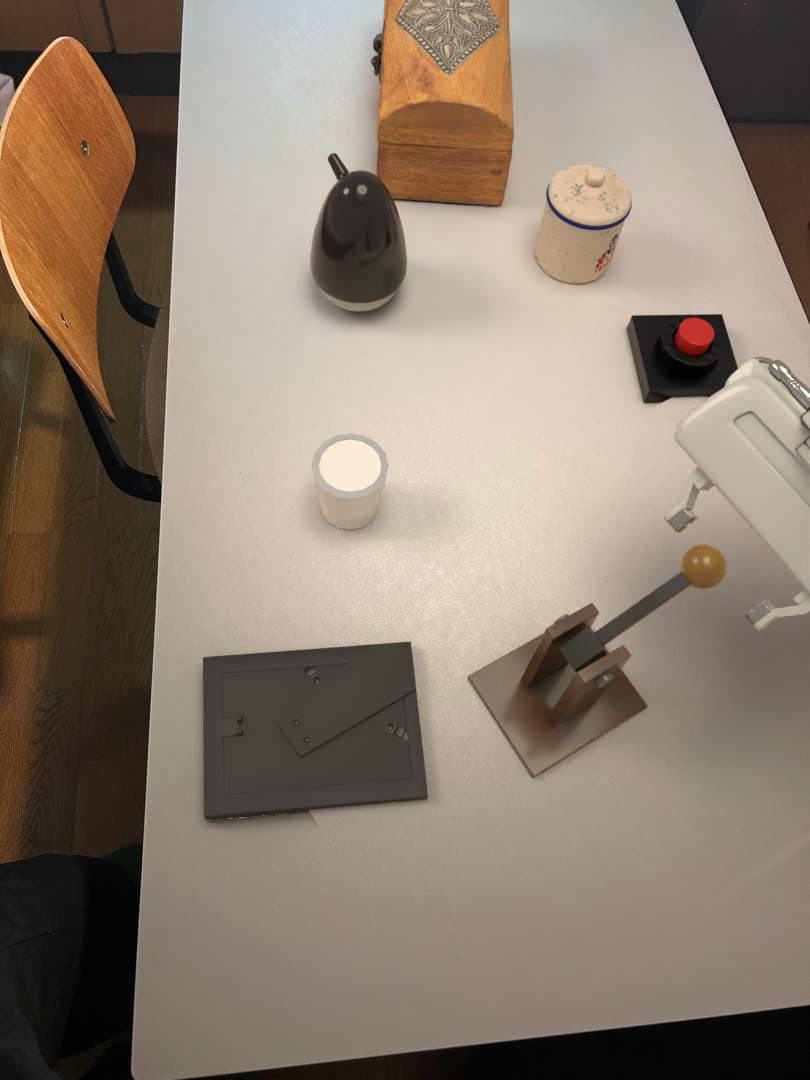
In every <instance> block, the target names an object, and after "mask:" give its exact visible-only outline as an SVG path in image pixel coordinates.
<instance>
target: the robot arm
mask: <svg viewBox="0 0 810 1080" xmlns="http://www.w3.org/2000/svg"><path fill="white" fill-rule="evenodd" d="M763 364H767V365H768V367H766V366H764V365H763ZM673 438H674V441H675V443H677V445H678V446H679V447H680V448H681V449H682V451H683V452H684V453H685V454H686V455H687V456H688V457H689V458H690V460H691V461H692V463H694V464H695V465H696V466H697V467H696V468H694V470H692V471H691V472H690V473H689V474H688V475H686V477H685V480H684V482H683V485H682V489H681V493H680V494H679V498H678V500H677V502H678V503H677V504H676V505H674V506H673V507H672V508H671V509H670V510H669V511H668V512H667V513H665V514H664V516H663V517H662V519H663V520H664V522H666V524H667V525H668V526H669V527H670V528H671V530H672V531H673V532H674V533H678V534H680V533H682V532H684V531H685V530H687V528H688V526H689V525H691V524H693V523H694V522H695V521H697V520H698V519H699V517H698V516H697V515H696V514H695V513H694V511H693V509H694V507H695V503H696V500H697V499H698V496H699V494H700V491H704V492H708V491H710V490H711V489H712V488H713V487H715V489H717V491H718V492H719V493H720V494H721V495H722V496H723V497H724V498H725V499H726V500H727V502H728V503H729V504H730V505H731V506H732V507H733V508H734V510H735V511H736V512H737V513H738V514H739V515H740V517H741V518H742V519H743V520H744V521H745V523H747V525H749V527H750V528H751V529H752V530H753V531H754V532H755V533H756V535H757V536H758V537H759V538H760V539H761V540H762V541H763V543H764V544H765V545H766V546H767V547H768V548H769V549H770V551H771V552H772V553H773V554H774V555H775V557H777V559H778V560H779V561H780V562H781V563H782V564H783V565H784V566H785V568H786V569H787V570H788V571H789V572H790V574H791V575H792V576H793V577H794V578H795V579H796V580H797V582H799V584H800V585H801V586H802V587H803V588H804V589H802V591H800V592H799V593H797V594H796V595H795V596H794V597H793V601H794V602H795V603H796V604H797V605H789V606H782V607H775V606H774V605H773V604H772V602H771V601H770V600H769V599H767V600H766V599H765V600H761V601H760V602H759V603H758V604H756V605H754V609H750V610H748V611H747V612H746V613H745V614H744V615H743V616H744V617H745V618H746V619H747V621H748V622H749V624H751V626H752V627H753V628H754V629H755V630H756V632H760V631H763V630H764V629H766V628H767V627H769V626H770V625H771V624H773V623H774V622H775V621H776V620H778V619H779V618H786V617H787V618H788V617H794V616H802V615H809V614H810V387H808V385H807V384H806V383H804V382H802V381H801V380H800V379H799V378H798V377H797V376H796V375H795V374H794V373H793V372H792V370H791V369H790V367H789V366H788V365H787V364H786V363H784V362H783V361H782V360H781V359H775V360H773V359H771V358H769V357H765V356H757V357H753V358H750V359H748V360H746V361H745V362H743V363H742V364H741V365H740V366H739V367H738V369H737V370H736V371H735V372H734V373H733V374H732V375H731V376H730V377H729V378H728V379H727V381H726V383H725V387H724V388H723V389H721V390H719V391H718V392H716V393H715V394H713V395H712V396H710V397H709V398H708V397H707V398H705V400H703V401H702V402H701V403H700V404H698V405H697V406H696V407H694V408H693V409H692V410H690V411H689V412H688V413H687V414H685V415H684V416H682V418H681V419H679V421H678V422H677V423H676V427H675V431H674V435H673Z"/></svg>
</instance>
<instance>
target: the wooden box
mask: <svg viewBox="0 0 810 1080" xmlns="http://www.w3.org/2000/svg"><path fill="white" fill-rule="evenodd" d="M382 18H383V19H382V30H381V32H378V33H377V34H376V35H375V37H374V38H373V41H372V49H373V50H374V52H376V55H374V56H372V58H371V60H370V64H371V66H372V67H373V73H374V74H373V75H374V76H375V77H377V76H378V83H379V84H380V85H379V95H378V107H377V122H376V123H377V124H376V138H377V147H376V149H377V150H376V176H378V177H379V178H380V179H381V180H382V181H383V183H384V184H385V185H386V187H387V188H388V190H389V191H390V193H391V195H392V197H393V199H394V200H395V199H398V200H414V201H428V202H442V203H454V204H468V205H486V206H501V205H502V204H503V201H504V197H505V194H506V191H507V186H508V179H509V172H510V167H511V162H512V158H513V157H512V156H513V143H514V137H515V127H514V126H515V125H514V104H513V83H512V65H511V62H512V61H511V34H510V33H511V31H510V30H511V29H510V0H383V17H382Z"/></svg>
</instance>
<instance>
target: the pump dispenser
mask: <svg viewBox="0 0 810 1080" xmlns="http://www.w3.org/2000/svg"><path fill="white" fill-rule="evenodd" d="M327 162H328V164H329V166H330V168H331V170H332V172H333V174H334V177H335V179H336V182H335V183H334V184H333V185H332V186H331V188H330V190H329V191H328V193H327V195H326V197H325V199H324V201H323V203H322V205H321V207H320V210H319V213H318V216H317V219H316V222H315V225H314V229H313V233H312V239H311V244H310V254H309V268H310V274H311V277H312V280H313V281H314V282H315V284H316V285H317V287H318V288H319V291H320V292H321V293H322V295H323V296H324V297H325V298H326V300H328V301H329V302H330V303H332V304H333V305H334V306H336V307H339V308H340V309H342V310H346V311H350V312H368V311H372V310H375V309H378V308H380V307H381V306H384V305H385V304H386V303H387V302H388V301H390V300H391V299H392V298H393V296H395V294H396V292H397V291H398V290H399V288H400V287H401V285H402V284H403V283H404V280H405V278H406V276H407V270H408V251H407V245H406V238H405V232H404V227H403V224H402V220H401V217H400V213H399V210H398V207H397V204H396V202H395V201H396V200H395V198H393V197H392V195H391V193H390V191H389V190H388V188H387V187H386V185H385V184H384V183H383V181H382V180H381V179H380V178H379V177H378V176H377V174H375V173H374V172H371V171H369V170H362V169H358V170H357V169H355V170H352V171H351V170H350V171H349V170H348V168H347V167H346V166H345V164H344V162H343V161H342V159H341V158H340V156H339V154H337V153H336V152H332V153H330V154H329V155H328V157H327Z"/></svg>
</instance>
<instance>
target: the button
mask: <svg viewBox="0 0 810 1080" xmlns="http://www.w3.org/2000/svg"><path fill="white" fill-rule="evenodd" d="M713 338H714V330H713V328H712V326H711V325H710V324H709V323H708V322H706V321H704V320H702V319H699V318H688V319H686V320H684V321H683V322H682V323H681V324H680V326H679V328H678V331H677V333H676V335H675V338H674V341H675V344H676V346H677V348H678V349H679V350H680V351H681V352H683V353H686V354H688V355H691V356H698V355H702V354H704V353H705V352H706V351H707V350H708V348H709V346H710V344H711V342H712V340H713Z"/></svg>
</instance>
